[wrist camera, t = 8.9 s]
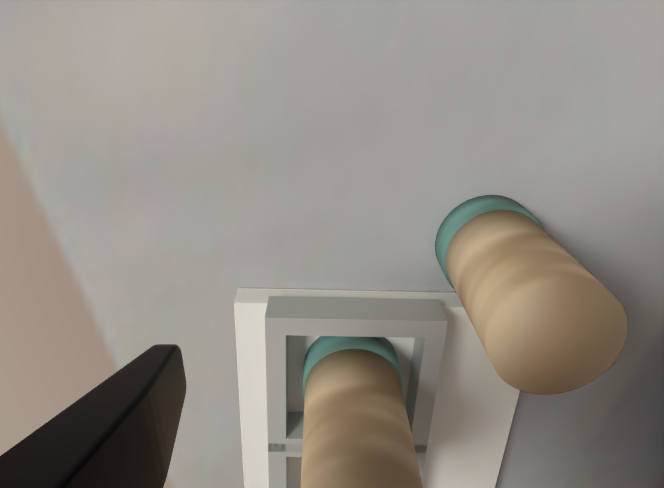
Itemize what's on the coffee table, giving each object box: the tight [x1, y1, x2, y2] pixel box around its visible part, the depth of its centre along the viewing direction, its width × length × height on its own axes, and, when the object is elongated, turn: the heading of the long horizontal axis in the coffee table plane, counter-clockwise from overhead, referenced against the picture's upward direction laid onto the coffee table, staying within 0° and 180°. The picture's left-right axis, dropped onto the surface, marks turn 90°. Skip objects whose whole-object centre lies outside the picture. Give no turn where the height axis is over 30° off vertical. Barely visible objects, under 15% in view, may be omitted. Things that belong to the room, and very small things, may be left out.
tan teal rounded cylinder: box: [301, 336, 423, 488], centre depth 18 cm, size 4×4×7 cm
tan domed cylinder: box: [435, 195, 628, 395], centre depth 17 cm, size 4×4×7 cm
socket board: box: [234, 288, 520, 488], centre depth 23 cm, size 13×14×3 cm
